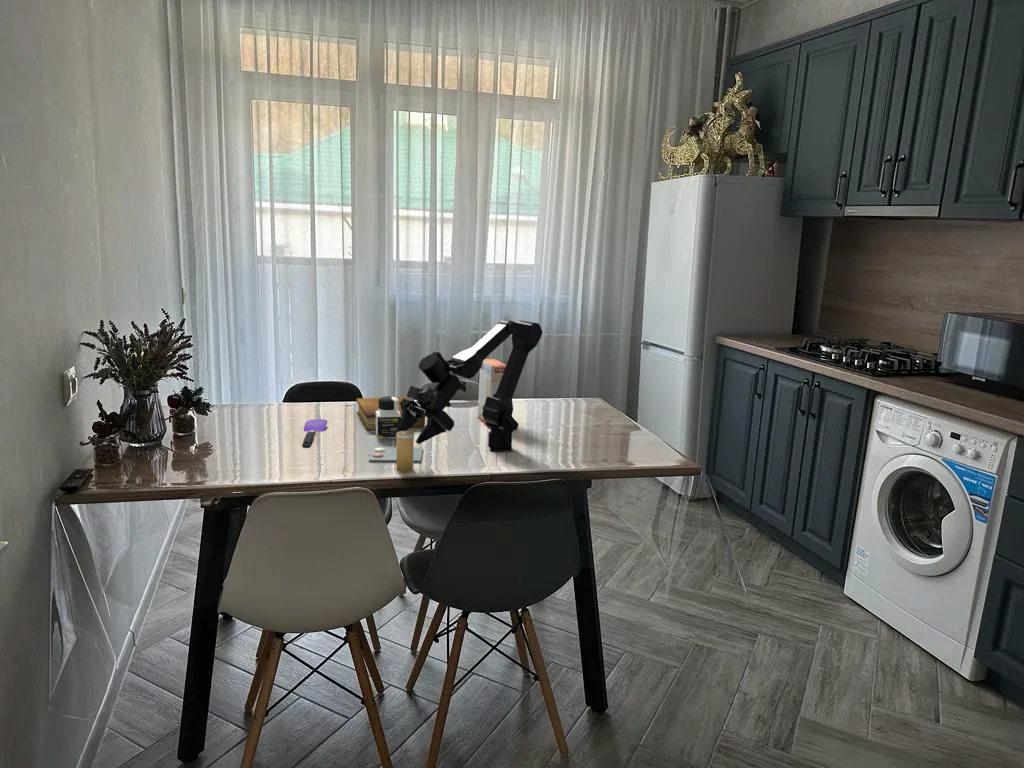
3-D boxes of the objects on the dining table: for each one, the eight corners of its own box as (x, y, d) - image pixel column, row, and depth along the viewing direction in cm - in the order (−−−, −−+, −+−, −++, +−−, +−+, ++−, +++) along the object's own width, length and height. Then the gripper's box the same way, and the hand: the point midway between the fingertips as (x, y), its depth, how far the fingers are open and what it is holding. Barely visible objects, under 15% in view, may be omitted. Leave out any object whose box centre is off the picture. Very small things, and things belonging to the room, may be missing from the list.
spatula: (317, 449, 201) (317, 440, 201) (292, 449, 200) (292, 440, 200) (328, 426, 224) (327, 419, 224) (306, 426, 223) (306, 419, 223)
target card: (422, 449, 204) (422, 446, 203) (420, 462, 192) (420, 459, 192) (373, 448, 202) (373, 445, 202) (369, 461, 191) (369, 458, 190)
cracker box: (506, 428, 230) (508, 365, 226) (488, 428, 228) (490, 366, 224) (494, 417, 243) (496, 358, 239) (477, 417, 241) (479, 358, 237)
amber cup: (414, 466, 188) (414, 431, 186) (413, 472, 184) (413, 436, 182) (396, 466, 188) (397, 430, 186) (395, 472, 183) (395, 435, 181)
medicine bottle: (377, 439, 212) (377, 400, 209) (375, 432, 219) (375, 395, 216) (401, 438, 214) (401, 400, 211) (398, 431, 221) (398, 394, 218)
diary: (424, 429, 226) (425, 412, 225) (366, 432, 220) (366, 415, 219) (410, 411, 247) (410, 395, 246) (356, 414, 241) (356, 397, 240)
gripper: (405, 368, 191) (370, 413, 186) (446, 381, 178) (409, 429, 173) (428, 393, 198) (394, 437, 193) (469, 407, 185) (434, 454, 179)
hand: (407, 438), depth 184 cm, fingers open, 9 cm apart
